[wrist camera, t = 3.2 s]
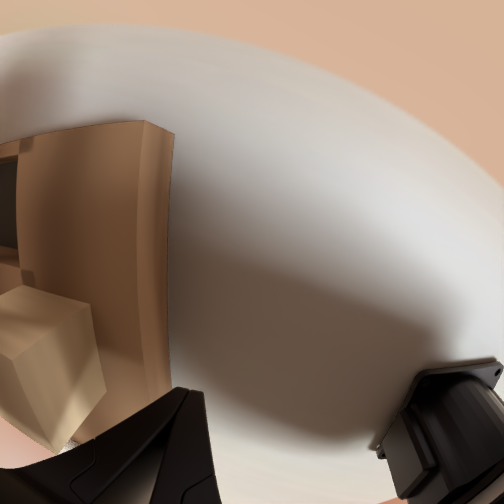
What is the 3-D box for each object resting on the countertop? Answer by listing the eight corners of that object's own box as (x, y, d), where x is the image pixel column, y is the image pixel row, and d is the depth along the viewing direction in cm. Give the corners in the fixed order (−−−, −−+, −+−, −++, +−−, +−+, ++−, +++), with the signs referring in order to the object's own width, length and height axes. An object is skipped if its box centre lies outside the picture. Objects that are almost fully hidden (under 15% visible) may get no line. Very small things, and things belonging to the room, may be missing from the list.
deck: (174, 134, 9) (144, 120, 7) (178, 445, 13) (166, 476, 11) (-38, 164, 11) (-63, 166, 8) (-10, 360, 14) (-27, 372, 12)
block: (90, 303, 8) (11, 360, 5) (106, 391, 9) (57, 454, 6) (22, 284, 9) (-46, 319, 5) (41, 363, 10) (-10, 407, 6)
